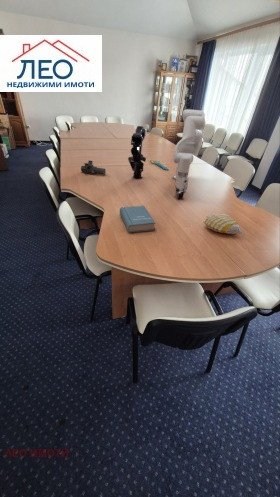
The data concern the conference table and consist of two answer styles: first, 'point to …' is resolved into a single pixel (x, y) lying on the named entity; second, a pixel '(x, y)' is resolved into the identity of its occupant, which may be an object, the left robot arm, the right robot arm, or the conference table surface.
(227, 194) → the conference table surface
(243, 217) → the conference table surface
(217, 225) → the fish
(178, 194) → the grey metal block
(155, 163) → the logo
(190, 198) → the conference table surface
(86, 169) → the laser sight
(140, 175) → the left robot arm
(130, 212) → the book
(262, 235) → the conference table surface
